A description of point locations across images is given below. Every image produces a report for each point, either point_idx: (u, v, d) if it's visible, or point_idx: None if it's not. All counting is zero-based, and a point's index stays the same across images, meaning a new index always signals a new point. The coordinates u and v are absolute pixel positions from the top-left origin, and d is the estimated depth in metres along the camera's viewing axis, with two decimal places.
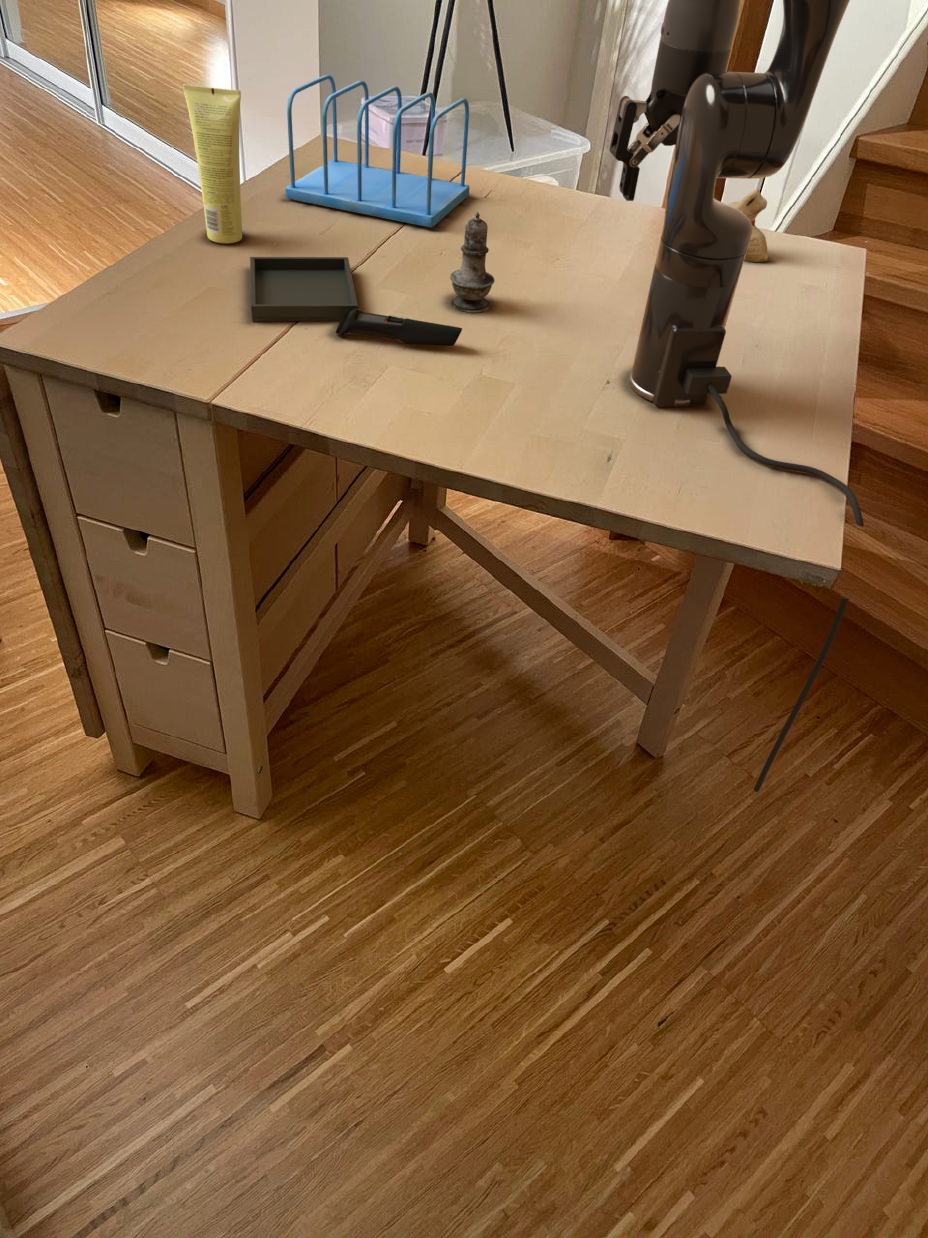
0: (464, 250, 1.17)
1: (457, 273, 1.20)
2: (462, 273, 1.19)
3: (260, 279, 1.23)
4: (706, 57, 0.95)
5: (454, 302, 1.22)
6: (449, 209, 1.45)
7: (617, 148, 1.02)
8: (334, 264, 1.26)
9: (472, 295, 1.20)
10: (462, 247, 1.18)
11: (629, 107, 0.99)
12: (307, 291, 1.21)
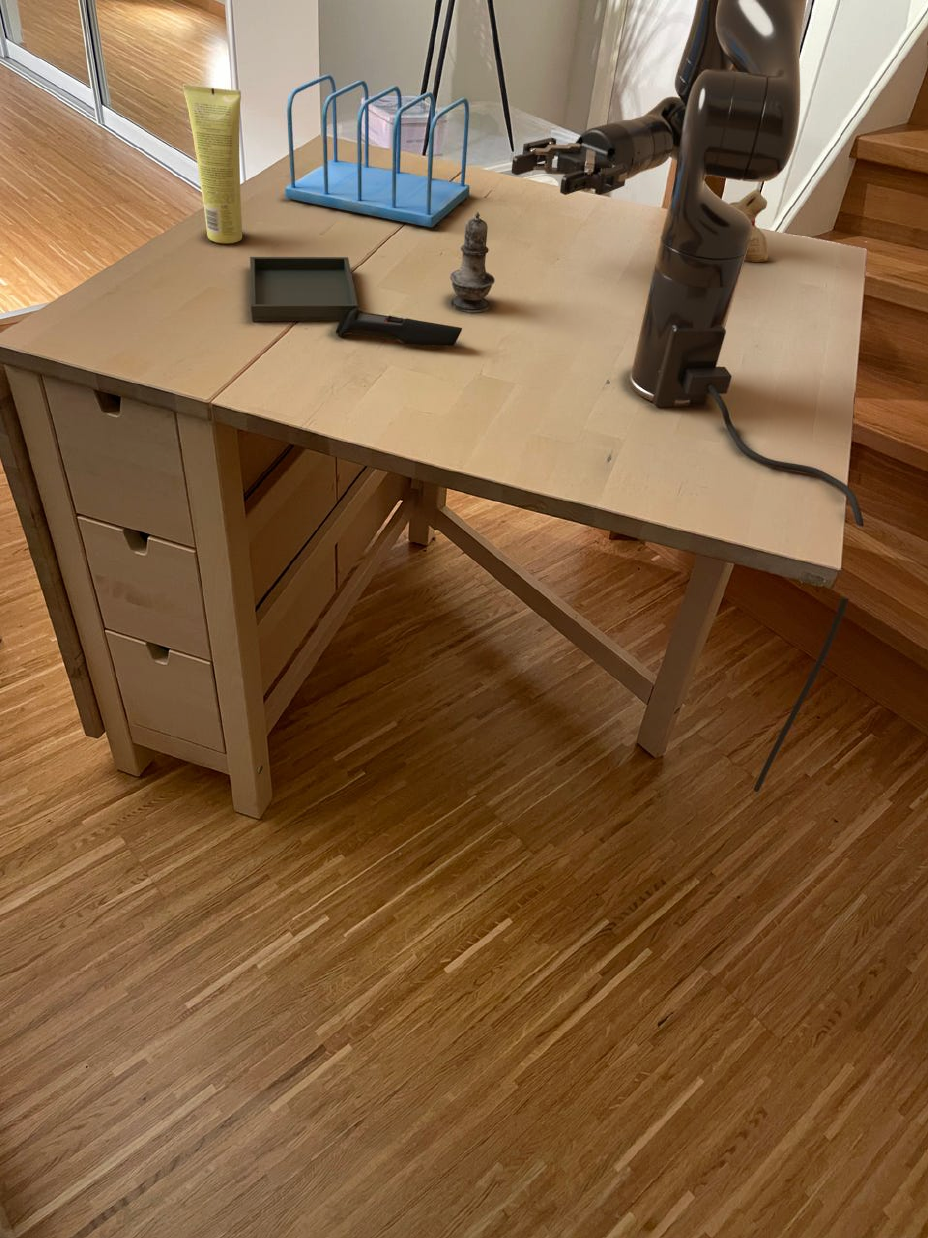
0: (464, 250, 1.17)
1: (457, 273, 1.20)
2: (462, 273, 1.19)
3: (260, 279, 1.23)
4: (615, 124, 1.25)
5: (454, 302, 1.22)
6: (449, 209, 1.45)
7: (528, 143, 1.25)
8: (334, 264, 1.26)
9: (472, 295, 1.20)
10: (462, 247, 1.18)
11: (550, 138, 1.27)
12: (307, 291, 1.21)
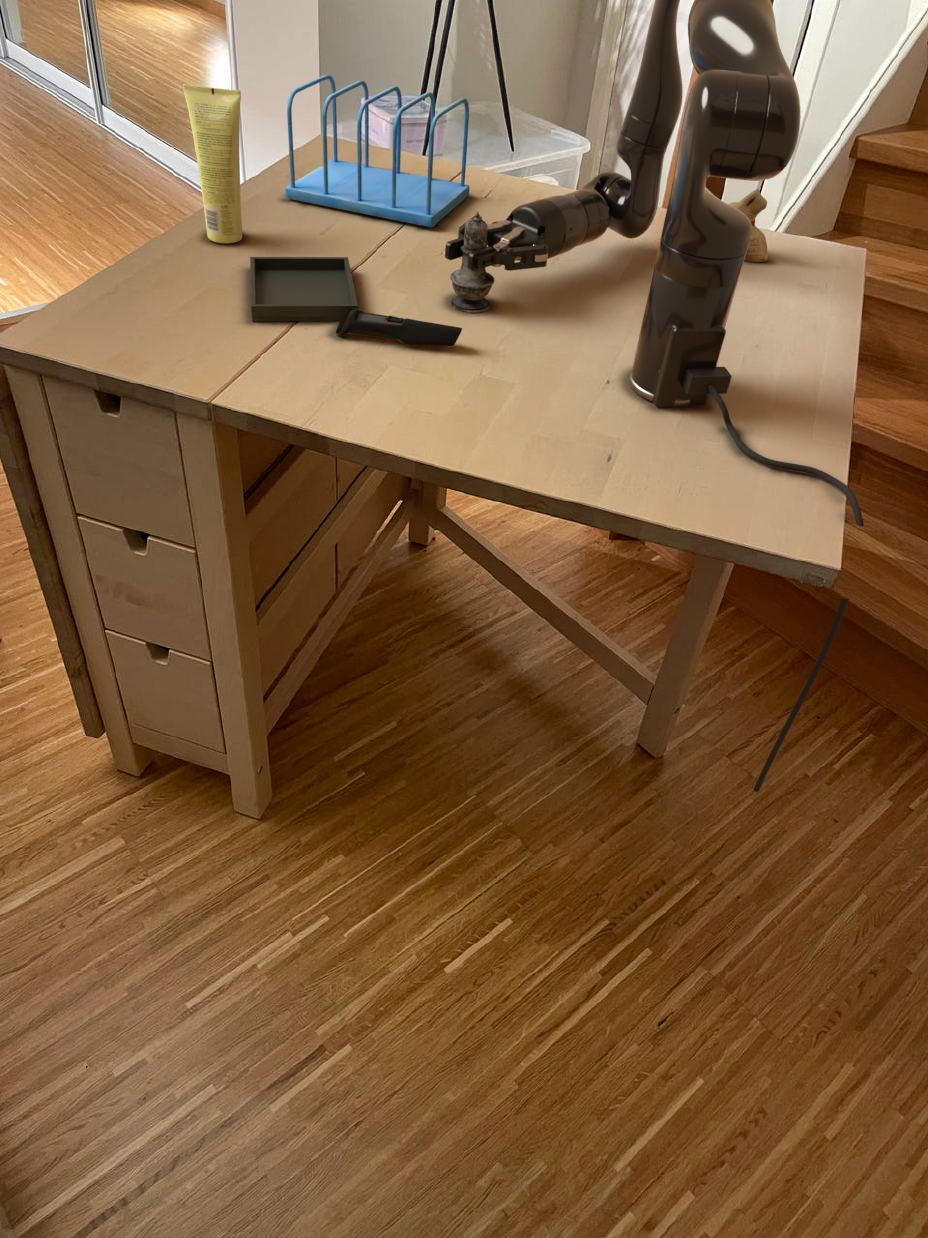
0: (464, 250, 1.17)
1: (457, 273, 1.20)
2: (462, 273, 1.19)
3: (260, 279, 1.23)
4: (546, 200, 1.23)
5: (454, 302, 1.22)
6: (449, 209, 1.45)
7: (464, 226, 1.21)
8: (334, 264, 1.26)
9: (472, 295, 1.20)
10: (462, 247, 1.18)
11: None
12: (307, 291, 1.21)
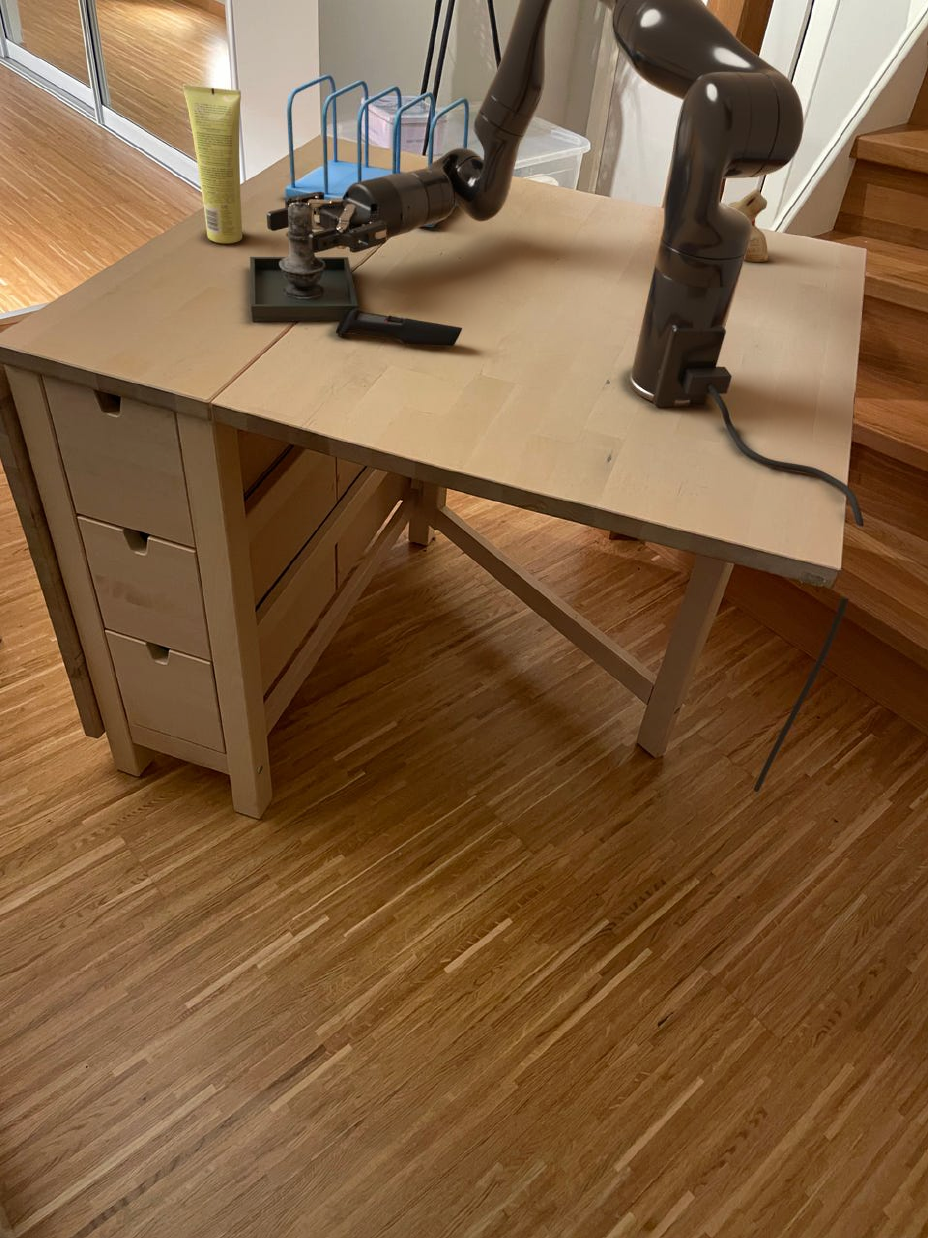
0: (288, 235, 1.15)
1: (286, 259, 1.18)
2: (289, 259, 1.17)
3: (260, 279, 1.23)
4: (382, 178, 1.20)
5: (286, 288, 1.20)
6: None
7: (291, 197, 1.20)
8: (334, 264, 1.26)
9: (300, 281, 1.18)
10: (287, 232, 1.16)
11: (318, 191, 1.22)
12: None
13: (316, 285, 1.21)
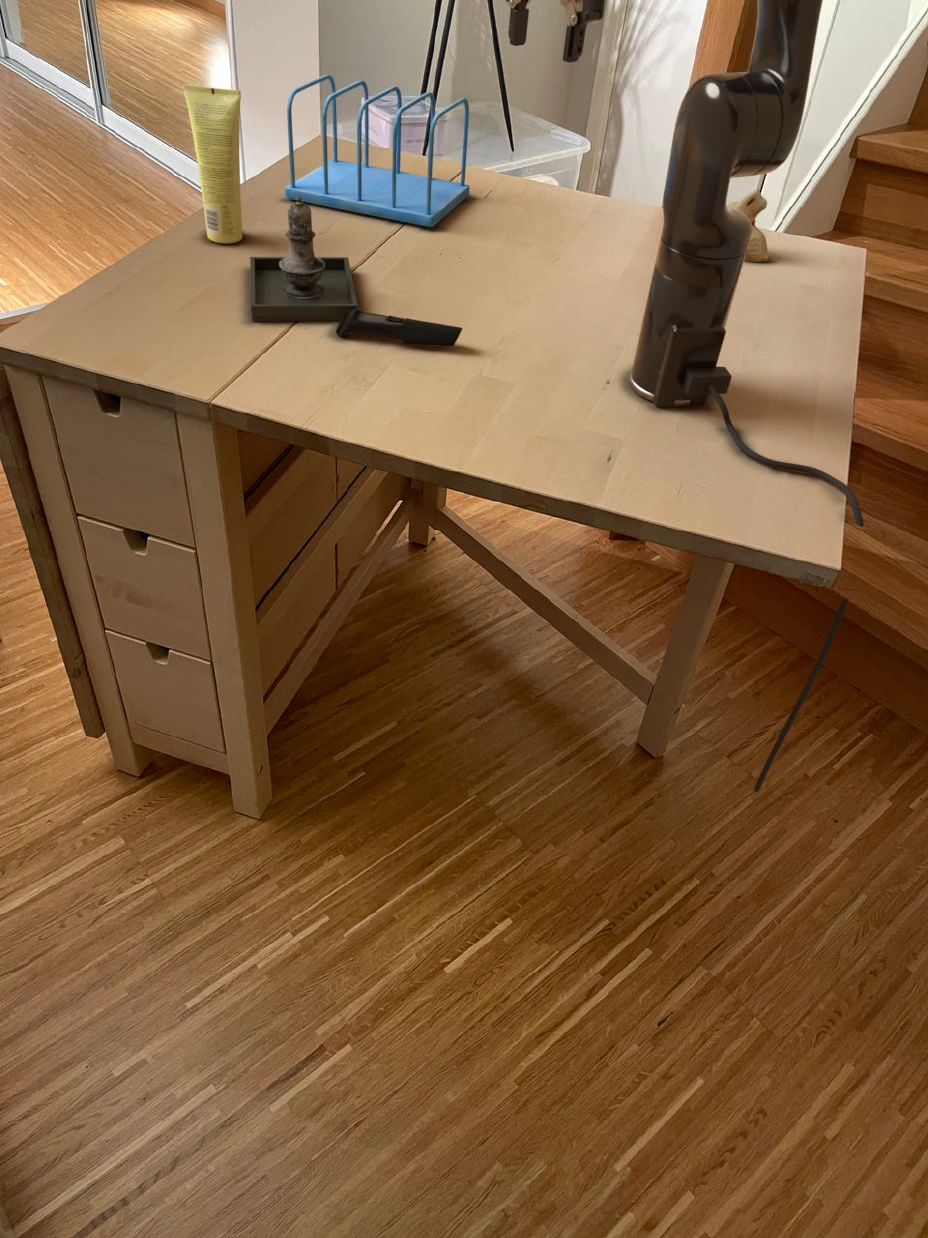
0: (288, 235, 1.15)
1: (286, 259, 1.18)
2: (289, 259, 1.17)
3: (260, 279, 1.23)
4: None
5: (286, 288, 1.20)
6: (449, 209, 1.45)
7: None
8: (334, 264, 1.26)
9: (300, 281, 1.18)
10: (287, 232, 1.16)
11: None
12: None
13: (316, 285, 1.21)
